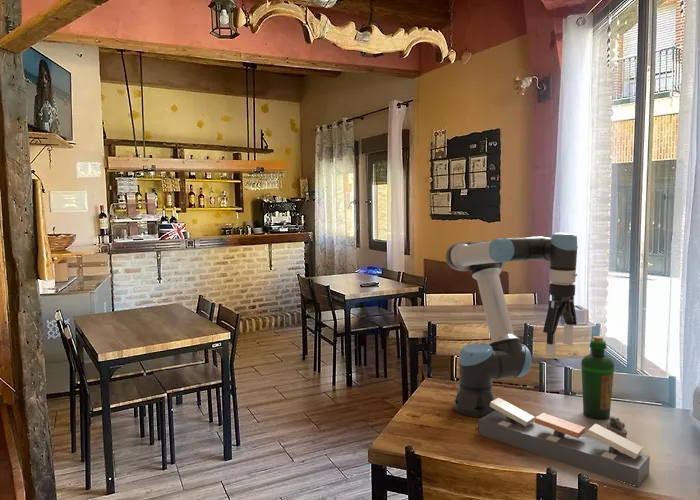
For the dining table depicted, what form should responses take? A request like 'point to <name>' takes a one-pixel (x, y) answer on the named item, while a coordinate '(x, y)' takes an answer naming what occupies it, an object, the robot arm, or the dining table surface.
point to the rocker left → (512, 411)
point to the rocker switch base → (566, 448)
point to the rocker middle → (560, 425)
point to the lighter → (616, 426)
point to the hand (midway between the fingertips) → (559, 349)
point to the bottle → (597, 380)
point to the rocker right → (615, 441)
